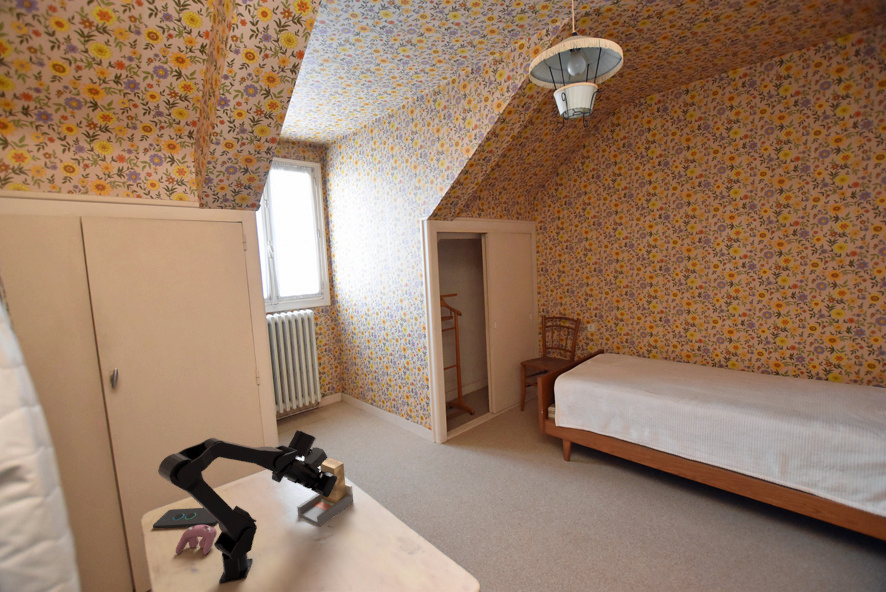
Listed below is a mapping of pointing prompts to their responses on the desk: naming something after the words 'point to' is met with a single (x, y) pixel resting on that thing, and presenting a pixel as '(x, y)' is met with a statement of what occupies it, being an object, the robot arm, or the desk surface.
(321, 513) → the rail box
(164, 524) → the smart home device
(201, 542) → the video game controller
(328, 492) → the robot arm
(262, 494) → the desk surface
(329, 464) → the oak slider
